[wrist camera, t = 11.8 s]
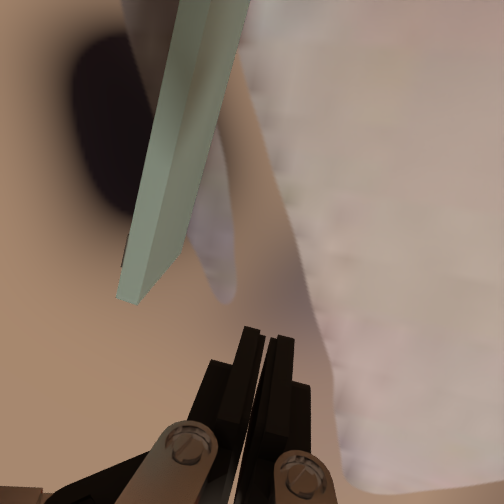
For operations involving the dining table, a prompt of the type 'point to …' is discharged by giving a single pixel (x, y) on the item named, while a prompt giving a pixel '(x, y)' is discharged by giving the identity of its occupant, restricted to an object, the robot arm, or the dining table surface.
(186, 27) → the sage green panel
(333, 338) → the dining table surface
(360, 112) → the dining table surface
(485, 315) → the dining table surface
